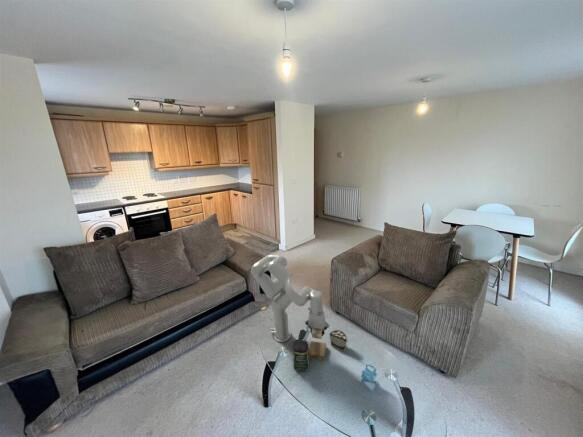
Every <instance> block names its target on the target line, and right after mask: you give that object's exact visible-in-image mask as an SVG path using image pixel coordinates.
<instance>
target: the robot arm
mask: <svg viewBox="0 0 583 437" xmlns="http://www.w3.org/2000/svg"><path fill="white" fill-rule="evenodd" d="M287 266H288V260H287V259H286V258H285V257H284V256H282V255H276V254H275V255H271V254H270V255H266V256H263V258H261V259H260V260H258V261H257V262H255V263H254V264H253V265H252V266H251V268H250V273H251V276H252V278H253V279H254V280H255V281H256V282H257V283H258V284H259V286H260V288H261V289H262V291H263V293H264V294H265V296H266V297H267V298H268V299H271V300H272V299H273V301H272V302H271V305H270V306H271V310H272V314H273V320H274V328H273V327H270V328H269V330H270V334H273V338H274V341H276V342H277V343H286V342H288V341H289V340H290V339H291V338H290V337H292V332H291V330H290V329H289V316H288V313H287V311H286V309H287V308H288V307H290V305H291V304H292V303H294V304H295V305H297V306H298V307H303V306H305V305H306V304H307V303H308V301H309V305H310V307H308V309H307V311H308V319H307V320H305V322H304V324H305V325H307V327H308V328H309V330H310V334H311V336H312V328H319V329H322V337H324V335H325V332H326V330H327V329H329V328H330V327H331V325H330V324H329V323H328V322H327V321H326V314H325V311H324V301H323V299H324V298H323V293H322V292H321V291H319V290H315V289H314V288H312V287H311V286H309V285H305V286H303V288H301V289H300V291H298V292H297V291H295V290H294V288H293V286H292V279H293V276H294V275H293V273H292V272H291V271H290V270H288V269H287V268H286V267H287ZM267 271H268V272H269V273H270V274H272V275H273V277H275V278H274V279H272V278H271V276H270V275H268V274H267V273H265V272H267ZM275 297H276V298H275ZM289 338H290V339H289ZM288 339H289V340H288ZM287 340H288V341H287ZM285 341H286V342H285Z"/></svg>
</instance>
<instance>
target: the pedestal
mask: <svg viewBox="0 0 583 437" xmlns="http://www.w3.org/2000/svg"><path fill="white" fill-rule="evenodd" d="M326 350H327V342H326V343H324V342H319V341H313V340H311V341H310V345H309V349H308V359H313V360H317V361H318V360H320V361H325V359H326V352H327V351H326Z"/></svg>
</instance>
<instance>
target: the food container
mask: <svg viewBox="0 0 583 437" xmlns="http://www.w3.org/2000/svg"><path fill="white" fill-rule="evenodd" d="M328 336H329V339H330V346H331V347H333V348H336V349H338V350H340V351H343V352H345V351H346V346H347V343H348V336H347V334H346V332H344V331H343V330H338V329H335V330H332V331H331V332H330V333H329V335H328Z"/></svg>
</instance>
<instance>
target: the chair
mask: <svg viewBox="0 0 583 437" xmlns="http://www.w3.org/2000/svg"><path fill="white" fill-rule="evenodd" d="M368 367H371V369H372V370H371V369H370V368H368ZM376 372H377V368H376V367H375V365H373V364H370V363H365V367H364V369H363V370H361V375H360V377H361V379H360V381H361V382H362V383H363V384H364V385H365V386H366V387H367V388H366V387H365V386H364V385H363V384H362V383H361V382H360V383H361V384H362V385H363V386H364V387H365V388H366V389H367V390H368V391H369V392H370V393H371V394H374V392H375V390H376V388H377V386H378V383H379V381H378V380H376V377H377V374H378V373H376ZM365 381H367V382H369V383H371V384H373V383H375V385H374V387H373V388H372V389H371V388H370V386H368V385H367V384H366V382H365Z"/></svg>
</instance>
